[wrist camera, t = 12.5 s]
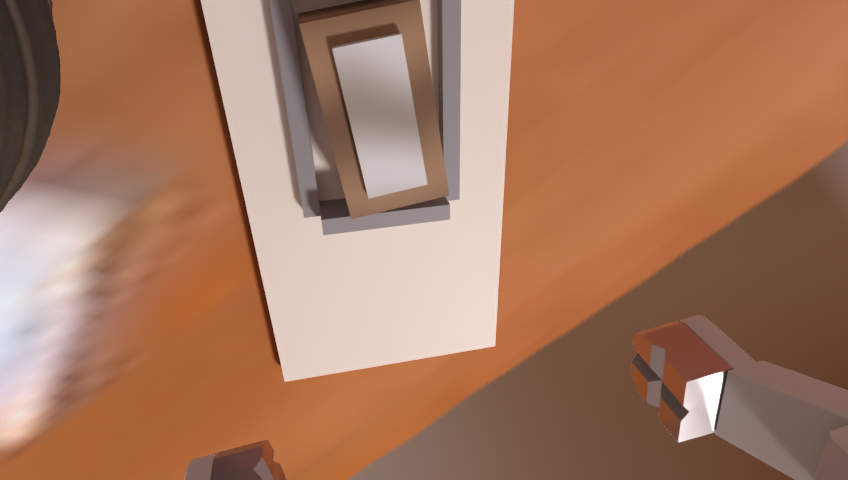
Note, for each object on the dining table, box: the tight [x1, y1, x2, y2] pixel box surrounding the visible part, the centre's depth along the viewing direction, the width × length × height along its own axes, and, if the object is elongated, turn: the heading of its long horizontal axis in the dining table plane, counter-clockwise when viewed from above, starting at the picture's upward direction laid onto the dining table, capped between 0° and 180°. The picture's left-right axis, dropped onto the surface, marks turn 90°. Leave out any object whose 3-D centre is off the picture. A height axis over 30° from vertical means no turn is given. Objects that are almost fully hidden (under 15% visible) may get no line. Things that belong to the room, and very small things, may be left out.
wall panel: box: [201, 0, 514, 382], centre depth 31 cm, size 30×16×4 cm, turn 1°
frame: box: [298, 0, 449, 219], centre depth 27 cm, size 10×6×4 cm, turn 9°
